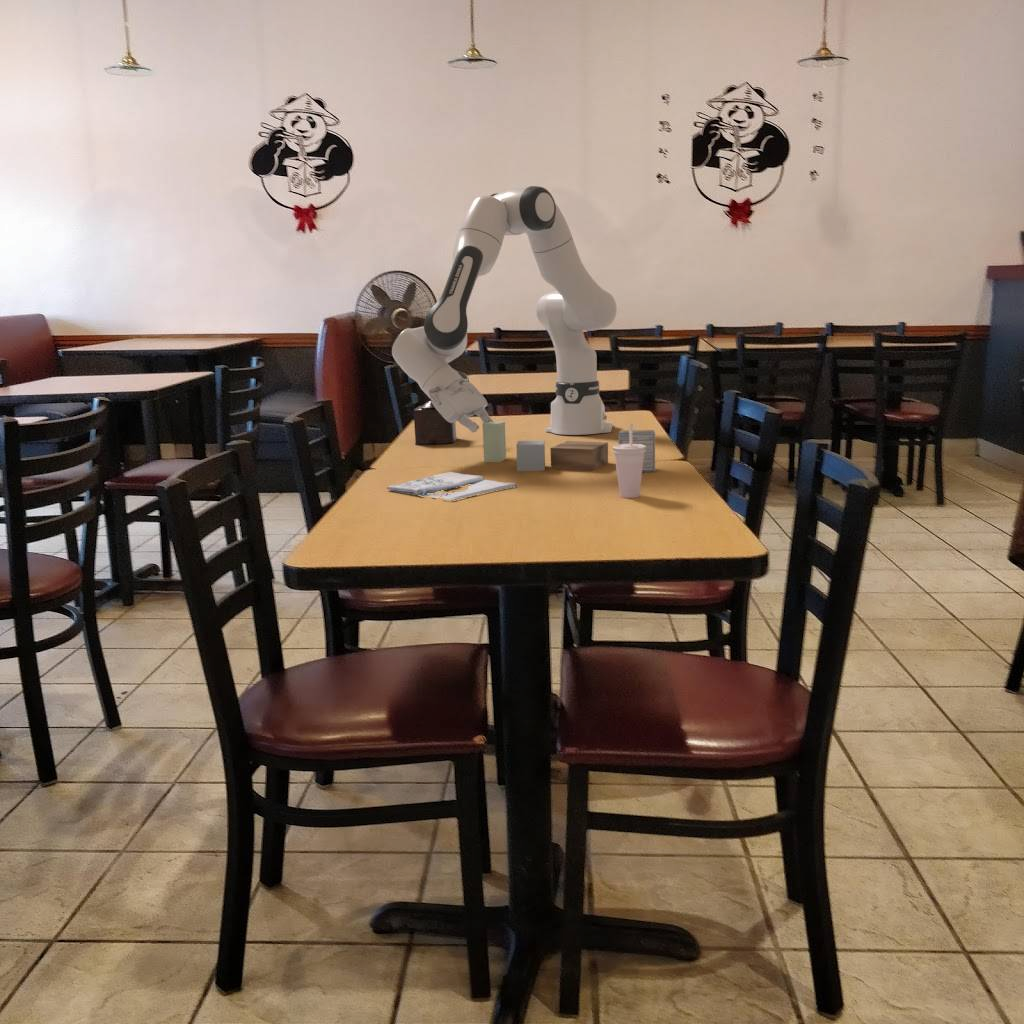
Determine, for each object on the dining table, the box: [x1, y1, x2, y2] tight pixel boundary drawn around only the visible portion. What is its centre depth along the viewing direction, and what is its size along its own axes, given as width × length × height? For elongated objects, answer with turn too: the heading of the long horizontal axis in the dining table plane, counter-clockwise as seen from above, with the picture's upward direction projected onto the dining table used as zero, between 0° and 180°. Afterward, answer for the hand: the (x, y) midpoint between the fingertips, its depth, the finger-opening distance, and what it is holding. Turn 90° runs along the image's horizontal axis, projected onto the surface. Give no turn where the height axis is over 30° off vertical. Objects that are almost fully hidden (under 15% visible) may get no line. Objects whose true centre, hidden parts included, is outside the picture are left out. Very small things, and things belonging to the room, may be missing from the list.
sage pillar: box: [482, 420, 507, 463], centre depth 227 cm, size 4×4×9 cm
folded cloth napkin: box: [386, 471, 517, 501], centre depth 196 cm, size 19×20×2 cm
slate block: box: [516, 439, 546, 472], centre depth 215 cm, size 6×6×6 cm
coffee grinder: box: [413, 379, 470, 446], centre depth 258 cm, size 16×11×18 cm
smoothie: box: [612, 423, 646, 499], centre depth 182 cm, size 6×6×14 cm
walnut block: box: [550, 440, 609, 472], centre depth 217 cm, size 10×10×5 cm
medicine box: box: [618, 429, 656, 473], centre depth 208 cm, size 8×4×9 cm, turn 84°
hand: (483, 427), depth 227 cm, fingers open, 8 cm apart
